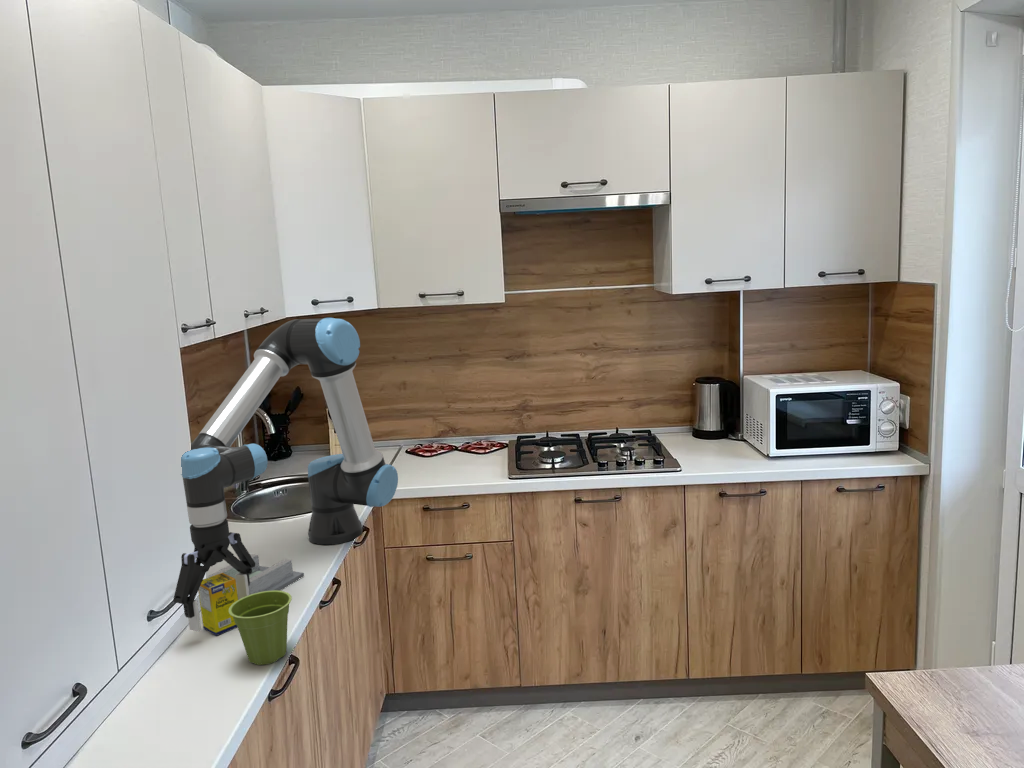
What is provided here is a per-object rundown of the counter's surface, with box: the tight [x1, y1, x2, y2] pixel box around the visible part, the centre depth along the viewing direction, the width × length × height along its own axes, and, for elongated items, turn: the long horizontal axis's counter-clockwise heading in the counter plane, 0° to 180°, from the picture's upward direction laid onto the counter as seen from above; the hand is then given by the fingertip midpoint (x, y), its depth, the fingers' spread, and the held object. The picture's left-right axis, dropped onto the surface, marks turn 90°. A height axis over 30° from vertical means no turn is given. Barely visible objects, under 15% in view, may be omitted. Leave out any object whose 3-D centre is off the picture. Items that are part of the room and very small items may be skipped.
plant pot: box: [229, 590, 293, 666], centre depth 146 cm, size 12×12×11 cm
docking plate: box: [208, 553, 305, 600], centre depth 180 cm, size 18×16×5 cm
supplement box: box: [197, 573, 238, 637], centre depth 160 cm, size 6×6×11 cm
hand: (221, 615), depth 160 cm, fingers open, 13 cm apart
